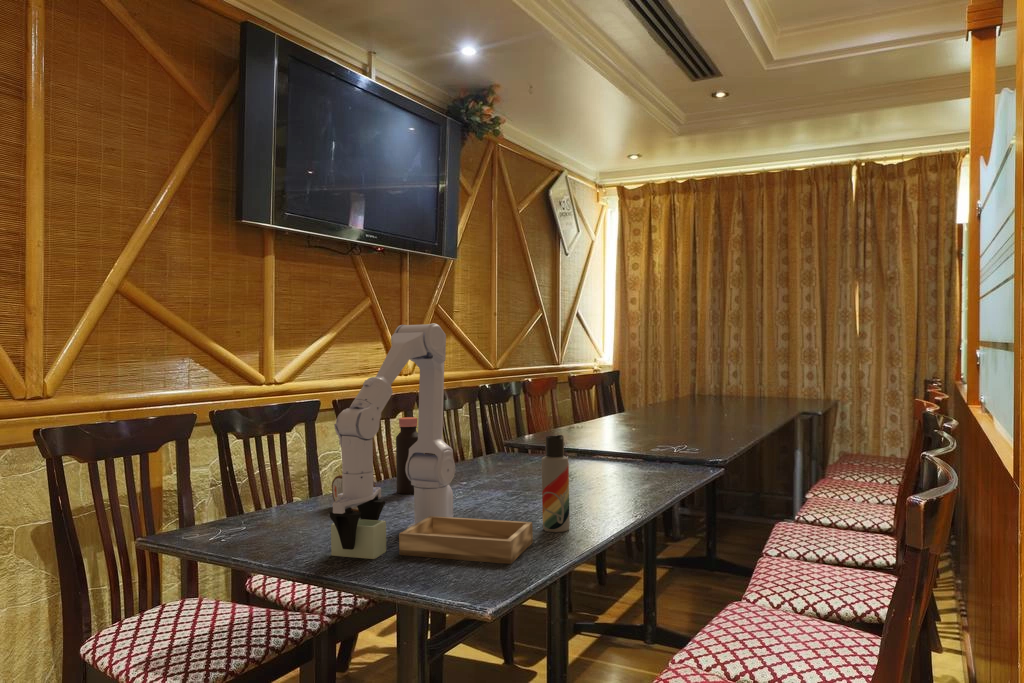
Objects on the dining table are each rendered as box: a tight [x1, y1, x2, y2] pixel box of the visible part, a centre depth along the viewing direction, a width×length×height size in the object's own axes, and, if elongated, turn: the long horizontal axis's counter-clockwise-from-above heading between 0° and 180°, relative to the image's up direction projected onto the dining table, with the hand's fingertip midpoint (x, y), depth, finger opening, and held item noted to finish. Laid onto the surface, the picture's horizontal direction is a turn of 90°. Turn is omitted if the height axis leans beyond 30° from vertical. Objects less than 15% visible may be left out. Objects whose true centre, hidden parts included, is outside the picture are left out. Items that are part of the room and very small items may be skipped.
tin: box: [331, 474, 377, 512], centre depth 168 cm, size 15×3×8 cm, turn 51°
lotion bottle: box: [541, 434, 571, 533], centre depth 147 cm, size 6×6×20 cm
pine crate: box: [398, 516, 534, 565], centre depth 134 cm, size 14×22×4 cm, turn 72°
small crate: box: [330, 518, 387, 560], centre depth 132 cm, size 5×9×6 cm, turn 72°
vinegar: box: [395, 416, 418, 495], centre depth 188 cm, size 7×7×20 cm
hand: (358, 543), depth 132 cm, fingers open, 7 cm apart
